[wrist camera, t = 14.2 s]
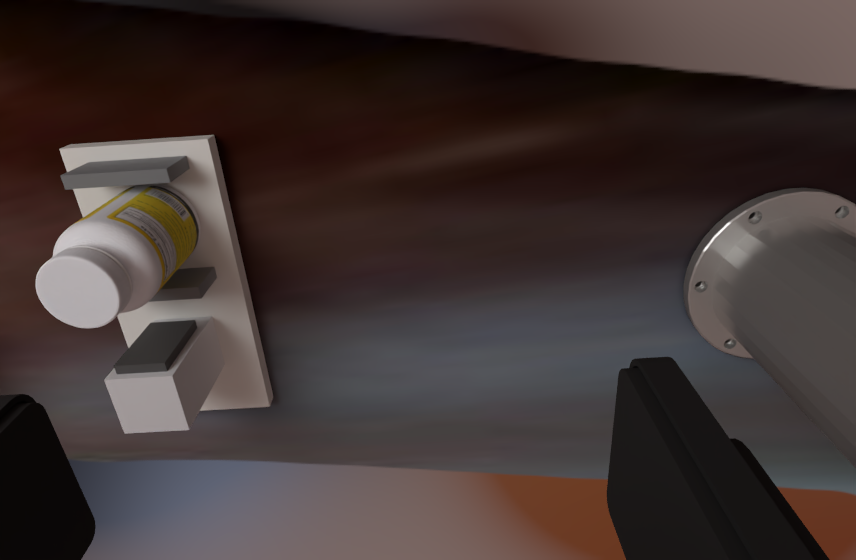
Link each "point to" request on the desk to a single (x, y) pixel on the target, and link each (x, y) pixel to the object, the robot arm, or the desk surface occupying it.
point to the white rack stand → (179, 291)
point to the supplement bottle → (118, 256)
